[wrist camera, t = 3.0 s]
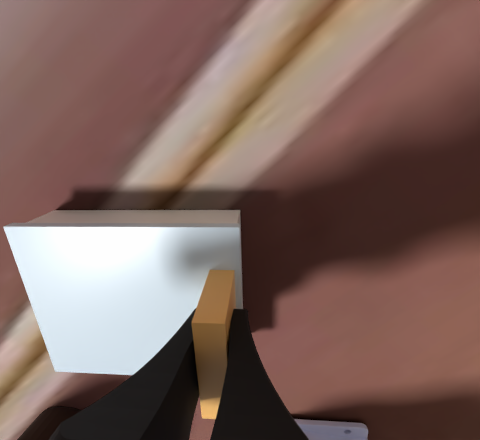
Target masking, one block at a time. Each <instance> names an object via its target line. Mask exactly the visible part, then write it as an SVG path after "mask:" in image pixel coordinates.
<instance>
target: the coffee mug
mask: <svg viewBox="0 0 480 440" xmlns="http://www.w3.org/2000/svg"><path fill="white" fill-rule="evenodd" d="M80 411H81V410H78V409H74V408H70V407H53V408H49V409H47V410H45V411H43V412H42V413H41V414H40V415H39V416H38V417H37V418H36V419H35V421H34V422H33V423H32V424H31V425H30V426H29V427H28V428H27V429H26V431H25V432H24V433H23V434H22V435H21V436H20V437H19V438H18V439H17V440H49V439H50V437H51V436H52V434H53V433H54V432H55V430H56V429H57V428H58V426H59V425H60V424H61V422H63V421H65V420H67V419H68V418H70V417H72V416H73V415H75V414H77V413H78V412H80Z"/></svg>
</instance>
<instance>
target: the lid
mask: <svg viewBox="0 0 480 440" xmlns="http://www.w3.org/2000/svg"><path fill="white" fill-rule="evenodd" d="M4 230H5V233H6V235H7V238H8V241H9V244H10V247H11V249H12V252H13V255H14V258H15V261H16V263H17V266H18V269H19V272H20V274H21V277H22V280H23V283H24V286H25V288H26V291H27V294H28V297H29V300H30V302H31V305H32V308H33V311H34V314H35V316H36V319H37V322H38V325H39V327H40V330H41V333H42V336H43V339H44V341H45V344H46V347H47V350H48V353H49V355H50V358H51V361H52V364H53V367H54V369H55V371H57V372H78V373H99V374H119V375H133V374H135V373H136V372H137V371H138V370H139V369H141V368H142V367H143V366H144V365H145V364H146V363H147V362H148V361H149V360H151V359H152V358H153V357H154V356H155V355H156V354H157V353H158V352H159V351H160V350H161V348H162V347H163V346H164V345H165V344H166V343H167V342H168V341H169V340H170V339H171V338H172V337H173V335H174V334H175V333H176V332H177V331H178V330H179V328H180V327H181V326H182V325H183V323H184V322H185V321H186V320H187V318H188V317H189V316H190V315H191V313H192V312H193V311H194V309H196V311H195V314H194V317H193V320H192V322H191V323H192V332H193V341H194V350H195V359H196V368H197V377H198V386H199V395H200V404H201V413H202V418H207V419H216V416H217V412H218V407H219V403H220V398H221V394H222V389H223V384H224V379H225V374H226V369H227V363H228V356H229V339H230V322H231V318H232V313H233V310H234V309H243V301H242V266H241V230H240V223H11V224H9V225H6V226H4Z"/></svg>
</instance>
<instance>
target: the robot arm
mask: <svg viewBox="0 0 480 440" xmlns="http://www.w3.org/2000/svg"><path fill="white" fill-rule="evenodd" d="M195 311H196V309H194V311H193V312H192V313H191V315H190V316H189V317H188V318H187V320H186V321H185V322H184V323H183V325H182V326H181V327H180V328H179V330H178V331H177V332H176V333H175V334H174V335H173V337H172V338H171V339H170V340H169V341H168V342H167V343H166V344H165V345H164V346H163V347H162V348H161V350H160V351H159V352H158V353H157V354H156V355H155V356H154V357H153V358H152V359H151V360H149V361H148V362H147V363H146V364H145V365H144V366H143V367H142V368H141V369H139V370H138V371H137V372H136V373H135V374H133V375H132V376H131V377H130V378H129V379H127V380H126V381H125V382H123V383H122V384H121V385H120V386H118V387H117V388H116V389H114V390H113V391H111V392H110V393H108V394H107V395H106V396H104V397H103V398H101V399H100V400H98V401H97V402H95V403H93V404H92V405H90V406H89V407H87V408H85V409H84V410H82V411H80V412H78V413H77V414H75V415H73V416H72V417H70V418H68V419H67V420H65V421H63V422H61V424H60V425H59V426H58V428H57V429H56V430H55V432H54V433H53V434H52V436H51V437H50V439H49V440H189V436H190V431H191V425H192V421H193V416H194V412H195V408H196V405H197V401H198V398H199V386H198V377H197V368H196V359H195V350H194V341H193V332H192V323H191V322H192V320H193V317H194V314H195ZM367 436H368V429H367V426H366V425H365V424H363V423H354V422H337V421H320V420H303V419H293V417H292V416H291V414H290V413H289V411H288V410H287V408H286V407H285V405H284V403H283V402H282V400H281V398H280V397H279V395H278V393H277V392H276V390H275V388H274V387H273V385H272V383H271V381H270V379H269V377H268V375H267V373H266V371H265V369H264V367H263V364H262V362H261V360H260V357H259V355H258V352H257V350H256V347H255V344H254V341H253V338H252V334H251V331H250V326H249V321H248V311H247V310H246V309H234V310H233V313H232V318H231V322H230V339H229V356H228V363H227V369H226V374H225V379H224V384H223V389H222V394H221V398H220V403H219V407H218V412H217V416H216V420H215V424H214V427H213V431H212V435H211V439H210V440H368V439H367Z"/></svg>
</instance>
